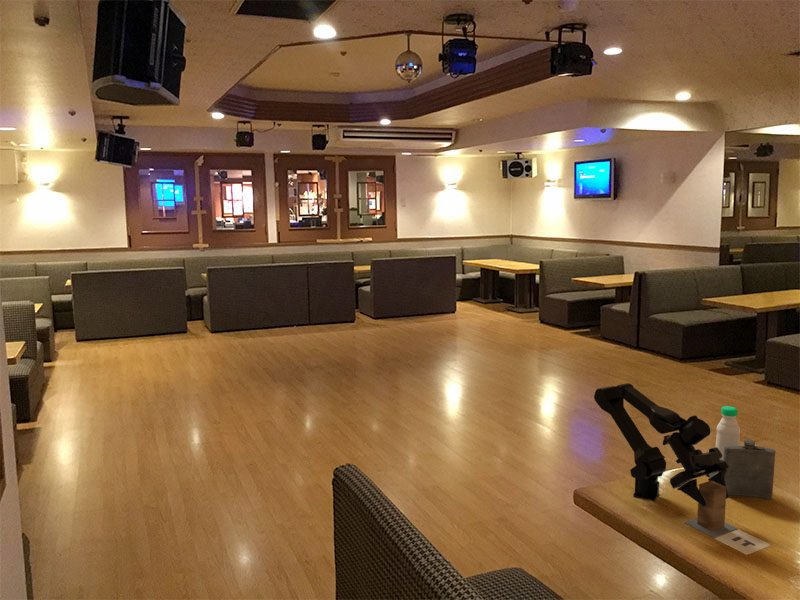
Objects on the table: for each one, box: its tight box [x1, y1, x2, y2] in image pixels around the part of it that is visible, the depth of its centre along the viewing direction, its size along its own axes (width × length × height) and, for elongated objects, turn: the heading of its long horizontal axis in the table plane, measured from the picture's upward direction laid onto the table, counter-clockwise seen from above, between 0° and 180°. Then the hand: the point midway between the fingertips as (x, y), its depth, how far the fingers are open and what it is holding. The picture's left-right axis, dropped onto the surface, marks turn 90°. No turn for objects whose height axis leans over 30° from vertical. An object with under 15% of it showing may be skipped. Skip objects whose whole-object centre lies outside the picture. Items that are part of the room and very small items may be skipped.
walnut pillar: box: [696, 480, 727, 531], centre depth 189 cm, size 5×5×12 cm
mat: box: [683, 516, 739, 539], centre depth 190 cm, size 10×10×1 cm
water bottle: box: [715, 405, 741, 461], centre depth 218 cm, size 7×7×25 cm
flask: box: [724, 439, 776, 501], centre depth 207 cm, size 4×14×18 cm, turn 75°
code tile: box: [713, 528, 771, 556], centre depth 181 cm, size 10×10×1 cm
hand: (716, 502), depth 187 cm, fingers open, 9 cm apart
